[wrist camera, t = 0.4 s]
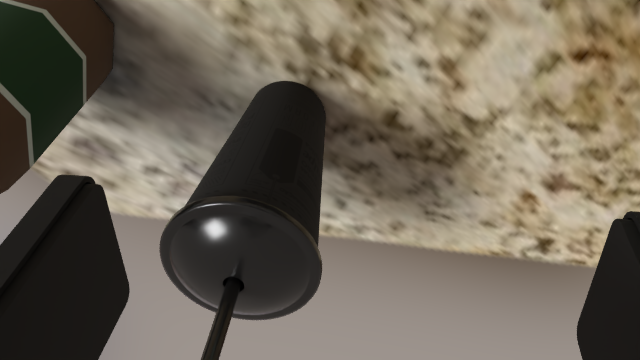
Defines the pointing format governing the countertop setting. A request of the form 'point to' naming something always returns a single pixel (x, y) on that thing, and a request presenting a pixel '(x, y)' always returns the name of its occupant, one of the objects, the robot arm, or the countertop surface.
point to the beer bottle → (46, 74)
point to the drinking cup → (254, 216)
